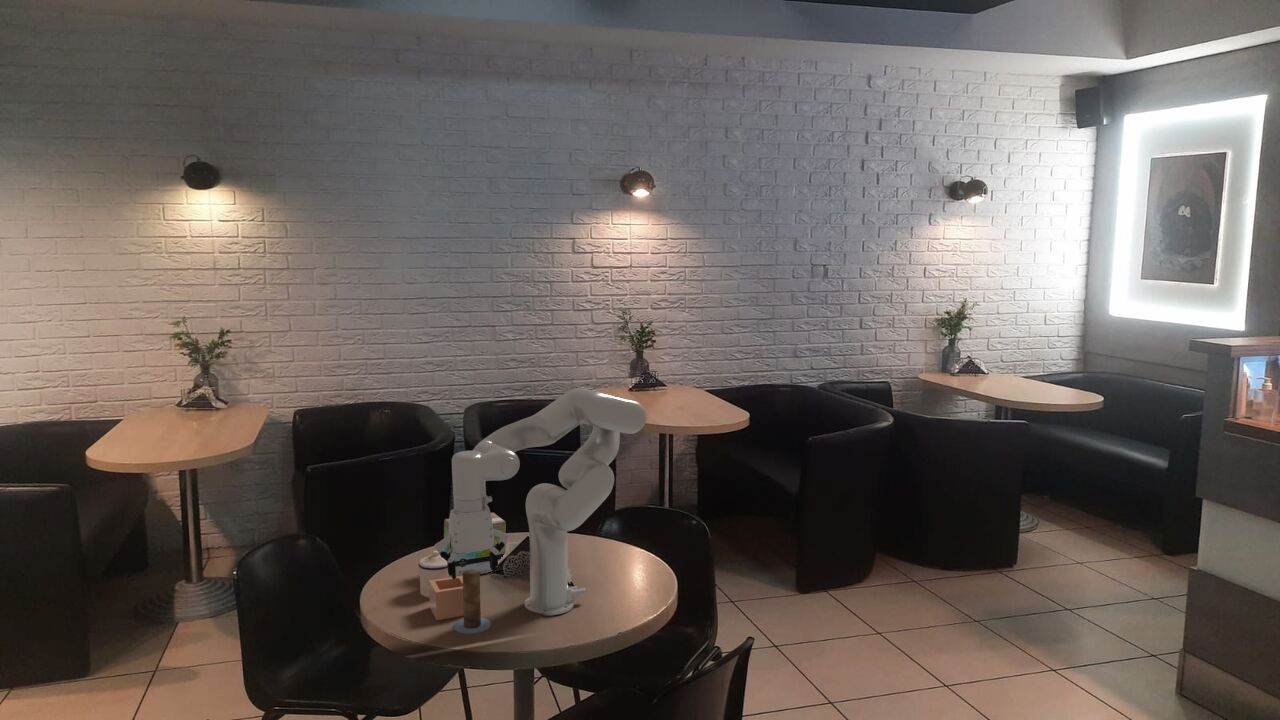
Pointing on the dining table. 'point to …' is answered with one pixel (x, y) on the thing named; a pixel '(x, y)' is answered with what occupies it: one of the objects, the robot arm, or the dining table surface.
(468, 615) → the walnut pin
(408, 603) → the dining table surface
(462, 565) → the tea box
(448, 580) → the terracotta cup
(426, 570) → the teacup with lid
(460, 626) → the slate coaster
